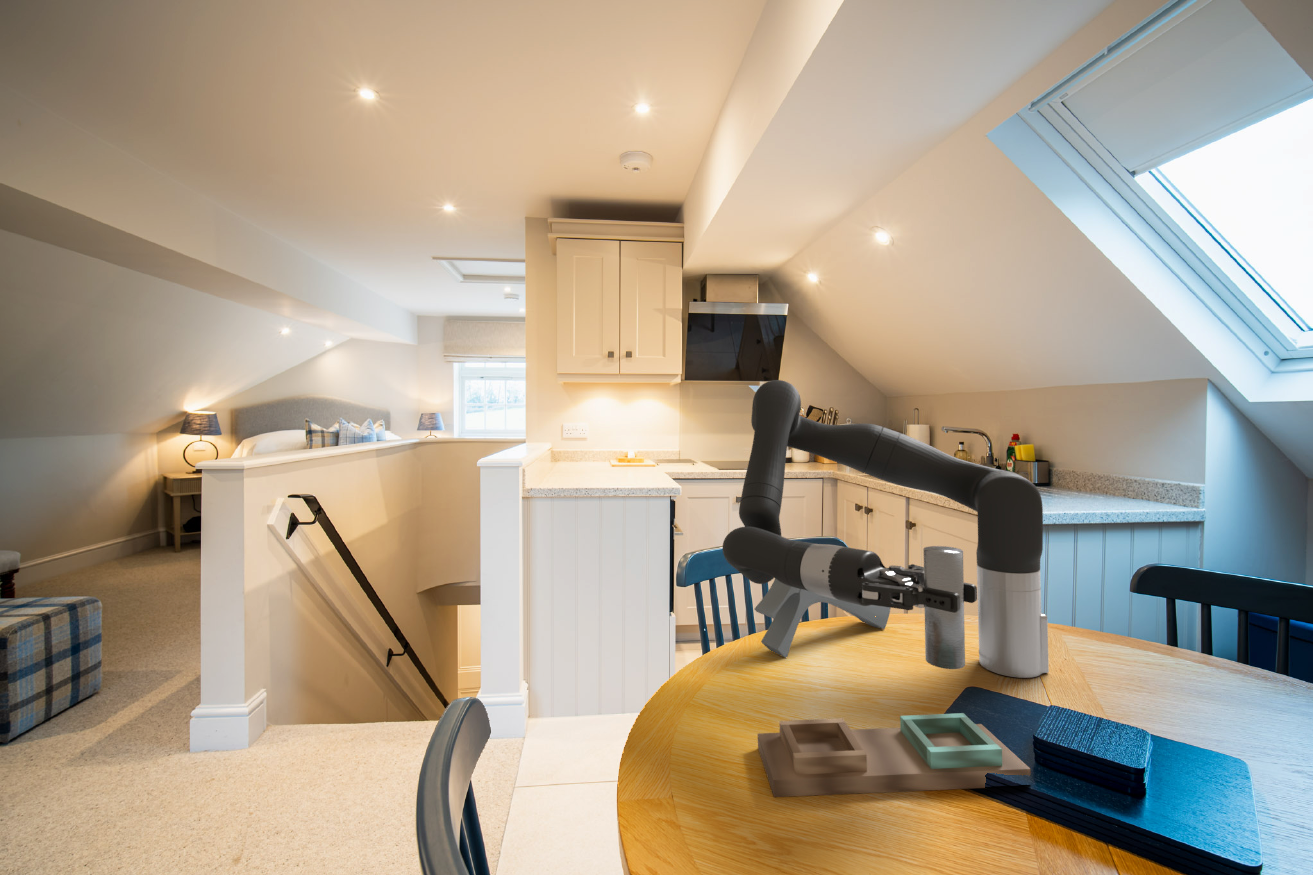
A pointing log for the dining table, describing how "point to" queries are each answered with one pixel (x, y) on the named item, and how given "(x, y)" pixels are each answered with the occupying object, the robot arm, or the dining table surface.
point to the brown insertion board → (883, 756)
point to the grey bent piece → (792, 604)
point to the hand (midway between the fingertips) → (966, 598)
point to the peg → (942, 625)
